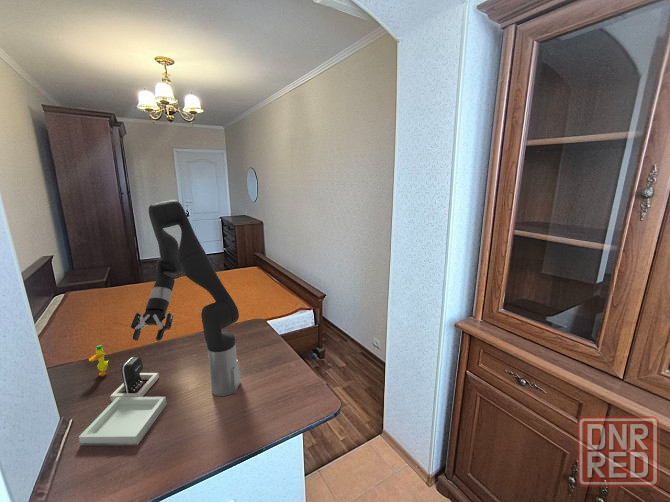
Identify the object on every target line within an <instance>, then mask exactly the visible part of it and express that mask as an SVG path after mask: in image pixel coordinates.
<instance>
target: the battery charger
mask: <svg viewBox="0 0 670 502" xmlns="http://www.w3.org/2000/svg"><path fill="white" fill-rule="evenodd" d="M143 370H144V364H143V360H142V358H140V357H138V356H132V357H129V358H128V359H127V360H126V361H125V362H124V363H123V364H122V365H121V369H120V372H121V377H122V384H123V383H124V387H125V391H124V393H138V391H139V390H140V389H141V388H142V387H143V386H144V384H145V383H144V381H143V380H142V379H141V377H140V373H142V372H141V371H143Z"/></svg>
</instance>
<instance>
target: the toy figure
mask: <svg viewBox="0 0 670 502" xmlns="http://www.w3.org/2000/svg"><path fill="white" fill-rule="evenodd" d="M103 348H104V347H103V345H102V344H99V345H96V348H95V353H96V354H94V355H92V356H91V357H89V359H88V361H89V363H90V362H94V361H97V360H98V363H97V365H96V366H97V370H98V371H100V372H99V374H98V376H99V377H104V376H105V375H106V374H107V372H106V370H107V369H108V365H109V364H108V362H109V360H105V354H106V353H105V352H104V349H103Z"/></svg>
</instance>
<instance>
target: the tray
mask: <svg viewBox="0 0 670 502" xmlns="http://www.w3.org/2000/svg"><path fill="white" fill-rule="evenodd" d="M167 405H168V403H167V397H166V396H143V397H117V398H116V399H115V400H114V401H111V403H110V404H108V406H107V407H106V408H105V409H104V410H103V411H102V412H101V413H100V414H99V415H98V416H97V417H96V418H95V419H94V420H93V422H92V423H90V425H89V426H87V428H86V429H85V430H84V431H82V433H81V434H80V435H79V436H78V441H79V445H80V446H81V447H85V446H90V447H91V446H93V447H95V446H99V447H100V446H101V447H102V446H104V447H105V446H139V444H140V442H141V441H142V439H143V438H144V437H145V436H146V434H147V433H148V431H149V430H150V429H151V427H152V425H153V424H154V423H155V422H156V420H157V418H158V417H159V416H160V414H161V413H162V412H163V410H164V408H165V407H166V406H167Z"/></svg>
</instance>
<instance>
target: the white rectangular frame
mask: <svg viewBox="0 0 670 502" xmlns="http://www.w3.org/2000/svg"><path fill="white" fill-rule="evenodd" d="M159 375H160V374H159V372H140V377H141V379H142V380H147V381H146V383H144V384H143V385H142V386H141V387H140V388H139V389H138V390H137V392H135V393H125V387H124V383H123V382H122V384H121V385H120V386H119V387H118V388H116V390H115V391H114V392H112V394H110V396H109V397H110V401H111V402H113V401H114V400H115V399H116V398H117V397H145V396H144V395H146V393H147V392H148V391H149V390H150V388H151V387H152V386H153V385H154V384H155V383H156V382H157V381H158V379H159V378H160V376H159Z"/></svg>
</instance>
